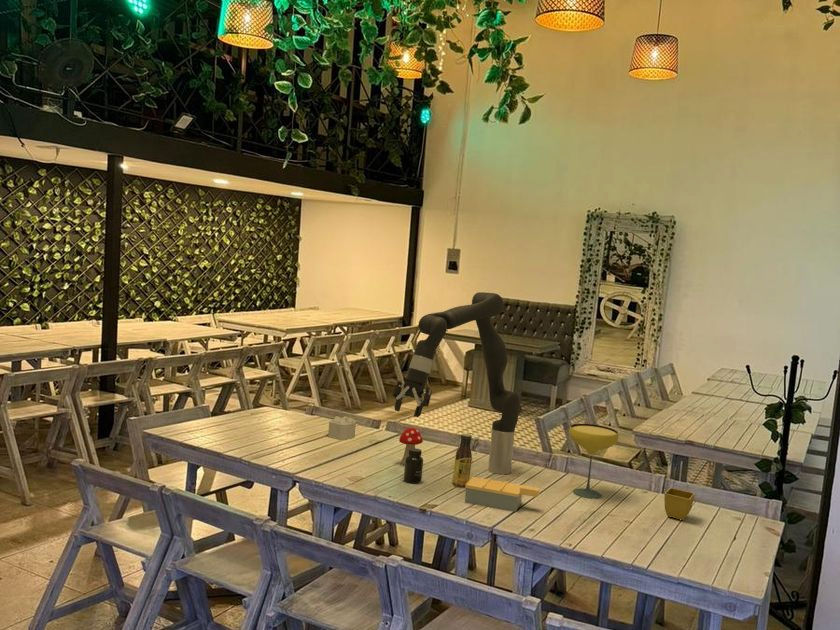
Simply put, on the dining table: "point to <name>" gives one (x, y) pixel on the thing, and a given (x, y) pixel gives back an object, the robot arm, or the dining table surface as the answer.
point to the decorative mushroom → (410, 440)
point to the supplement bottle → (413, 466)
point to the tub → (492, 499)
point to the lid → (501, 487)
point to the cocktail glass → (592, 447)
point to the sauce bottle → (462, 462)
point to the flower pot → (678, 503)
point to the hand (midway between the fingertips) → (406, 413)
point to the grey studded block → (342, 428)
